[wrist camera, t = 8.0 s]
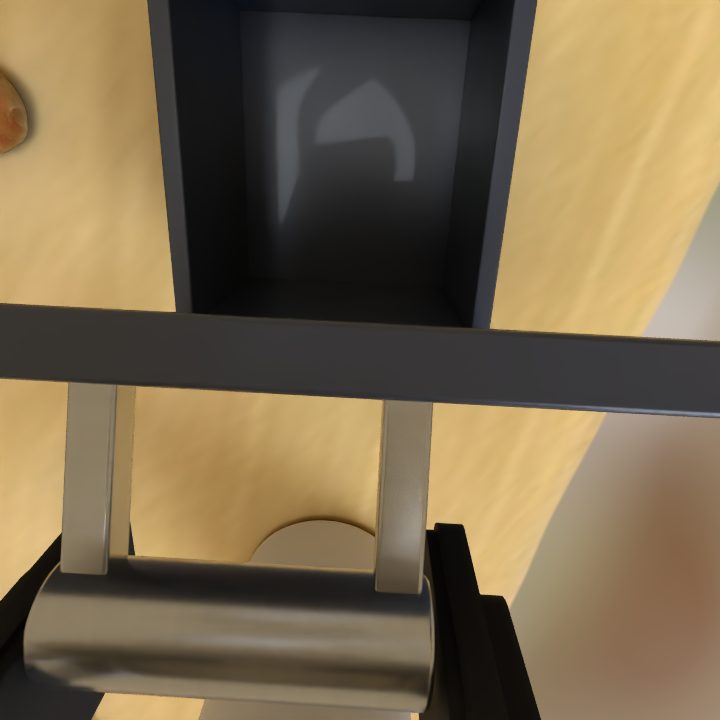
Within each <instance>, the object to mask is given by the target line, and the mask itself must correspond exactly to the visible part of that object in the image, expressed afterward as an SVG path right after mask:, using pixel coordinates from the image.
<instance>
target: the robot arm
mask: <svg viewBox="0 0 720 720" xmlns="http://www.w3.org/2000/svg"><path fill="white" fill-rule="evenodd" d="M61 539H62V533H61V534H60V535H59V536H58V537H57V539H56V540H55V541H54V542H53V543H52V544H51V546H50V547H49V548H48V549H47V550H46V551H45V552H44V554H43V555H42V556H41V557H40V558H39V559H38V561H37V562H36V563H35V564H34V565H33V566H32V568H31V569H30V570H29V571H27V572H26V573H25V574H24V575H23V576H22V577H21V578H20V579H19V580H18V581H17V583H16V584H15V585H14V586H13V587H12V588H11V590H10V591H9V592H8V593H7V594H6V595H5V596H4V598H3V599H2V600H1V601H0V720H91V719H92V717H93V715H94V713H95V711H96V709H97V707H98V706H99V704H100V702H101V700H102V698H103V696H104V694H105V693H104V692H88V691H73V690H57V689H42V688H37V687H35V686H34V685H32V684H31V683H30V682H28V680H27V679H26V677H25V675H24V672H23V668H22V661H21V649H22V640H23V634H24V629H25V625H26V621H27V618H28V615H29V612H30V609H31V606H32V604H33V602H34V599H35V597H36V595H37V593H38V591H39V589H40V587H41V585H42V584H43V582H44V580H45V579H46V578H47V576H48V575H49V573H50V572H51V571H52V570H53V568H54V567H55V566H56V565H57V564H58V563H59V562H60V561H61ZM128 555H133V556H135V551H134V545H133V538H132V531H131V525H129V546H128ZM424 574H425V575H427V577H428V579H429V582H430V585H431V589H432V595H433V603H434V616H435V648H436V649H435V679H434V690H433V697H432V701H431V705H430V708H429V710H428V711H427V712H424V713H419V720H541V718H540V715H539V711H538V708H537V704H536V701H535V698H534V694H533V691H532V687H531V684H530V680H529V677H528V674H527V670H526V667H525V664H524V660H523V657H522V653H521V650H520V647H519V643H518V639H517V636H516V633H515V629H514V626H513V622H512V619H511V616H510V612H509V609H508V606H507V603H506V600H505V599H504V597H503V596H496V595H480V593H479V589H478V585H477V580H476V576H475V572H474V568H473V563H472V559H471V555H470V551H469V546H468V542H467V538H466V534H465V529H464V526H463V525H462V524H446V523H435V526H434V530H426V538H425V556H424Z"/></svg>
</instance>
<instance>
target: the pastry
mask: <svg viewBox="0 0 720 720" xmlns="http://www.w3.org/2000/svg"><path fill="white" fill-rule="evenodd" d="M27 133H28V126H27V114H26V109H25V107H24V104H23V102H22V100H21V98H20V96H19V95H18V93H17V91H16V90H15V88H14V87H13V86H12V85H11V84H10V83H9V82H8V81H7V79H6V78H5V77H4V76H3V74H2V73H1V72H0V154H1V153H4V152H7V151H9V150H11V149H12V148H13V147H15V146H16V145H18V144H20V143H21V142H23V141H24V139H25V138H26V135H27Z"/></svg>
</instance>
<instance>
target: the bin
mask: <svg viewBox="0 0 720 720" xmlns="http://www.w3.org/2000/svg"><path fill="white" fill-rule="evenodd" d="M147 2H148V13H149V24H150V35H151V46H152V57H153V67H154V78H155V89H156V100H157V111H158V121H159V132H160V143H161V154H162V165H163V176H164V186H165V197H166V208H167V219H168V230H169V241H170V251H171V262H172V273H173V284H174V295H175V306H176V312H177V313H196V314H215V315H234V316H253V317H272V318H291V319H310V320H329V321H348V322H367V323H386V324H405V325H424V326H443V327H462V328H480V329H490V322H491V315H492V308H493V302H494V295H495V288H496V281H497V274H498V267H499V260H500V253H501V247H502V240H503V233H504V226H505V219H506V212H507V205H508V198H509V192H510V185H511V178H512V171H513V164H514V157H515V150H516V143H517V137H518V130H519V123H520V116H521V109H522V102H523V95H524V88H525V81H526V75H527V68H528V61H529V54H530V47H531V40H532V33H533V26H534V20H535V13H536V6H537V0H147Z"/></svg>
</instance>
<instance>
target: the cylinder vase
mask: <svg viewBox="0 0 720 720" xmlns="http://www.w3.org/2000/svg"><path fill="white" fill-rule="evenodd" d="M374 546H375V537H374V536H372V535H371V534H369V533H367V532H366V531H364V530H362V529H360V528H357V527H355V526H352V525H349V524H346V523H341V522H336V521H327V520H314V521H306V522H300V523H296V524H293V525H290V526H287V527H285V528H283V529H281V530H279V531H277V532H275V533H274V534H272V535H271V536H270V537H268V538H267V539H266V540H265V541H264V542H263V543H262V544H261V545H260V546H259V547H258V548H257V550H256V551H255V553H254V554H253V556H252V558H251V560H250V562H249V563H265V564H281V565H298V566H314V567H331V568H347V569H364V570H373V564H374ZM199 720H411V716H410V712H396V711H380V710H365V709H350V708H334V707H319V706H304V705H288V704H273V703H257V702H242V701H227V700H211V699H205V701H204V704H203V707H202V710H201V713H200V716H199Z"/></svg>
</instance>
